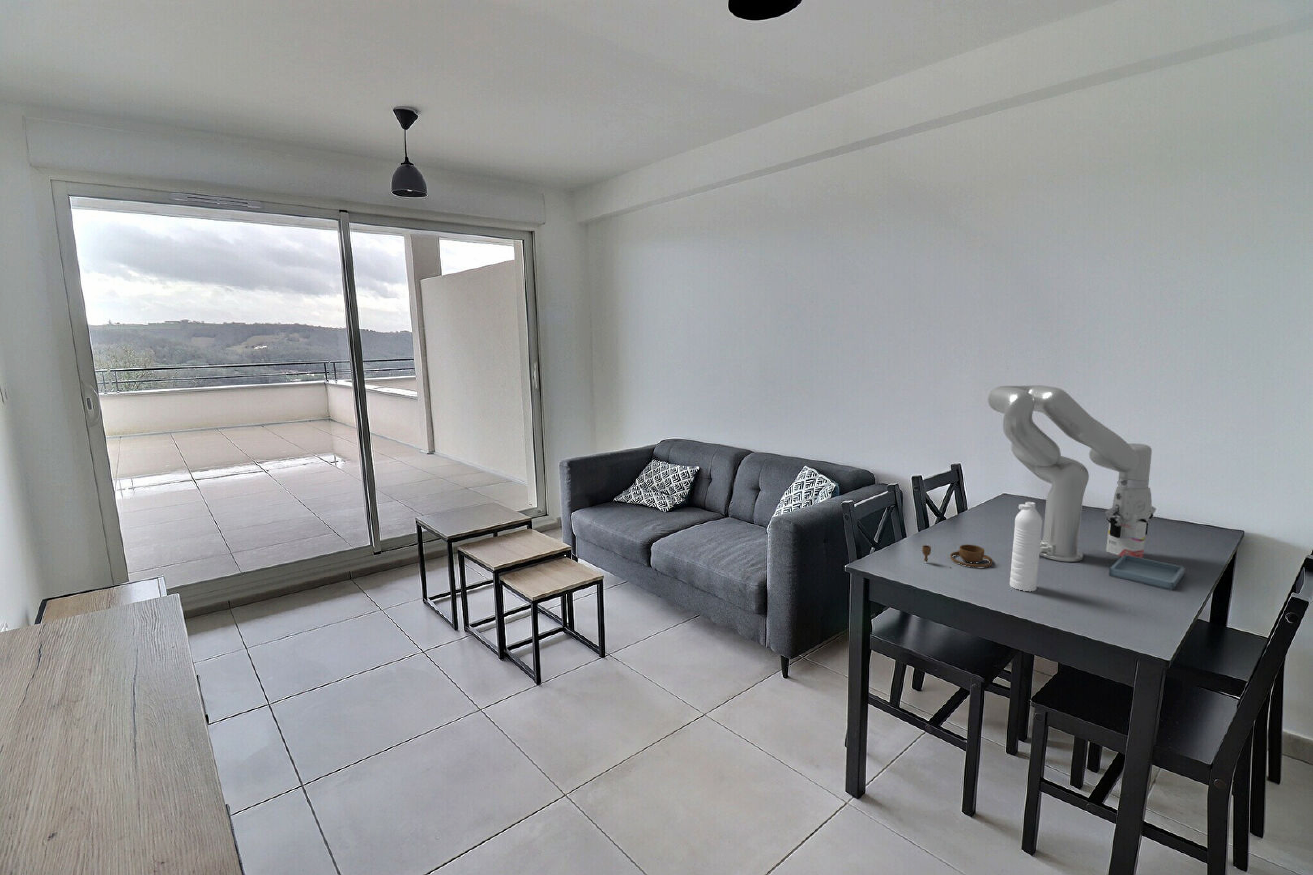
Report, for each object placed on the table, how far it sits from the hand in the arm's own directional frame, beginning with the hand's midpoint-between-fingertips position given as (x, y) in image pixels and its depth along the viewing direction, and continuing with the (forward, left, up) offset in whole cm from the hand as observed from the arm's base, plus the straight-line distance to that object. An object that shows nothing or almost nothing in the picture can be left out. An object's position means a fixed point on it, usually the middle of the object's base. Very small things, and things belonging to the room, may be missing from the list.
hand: (1128, 535), depth 194 cm
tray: (-9, -15, -7) cm, 18 cm away
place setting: (-54, +7, -7) cm, 55 cm away
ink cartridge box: (-1, 0, -7) cm, 7 cm away
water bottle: (-51, -16, -7) cm, 53 cm away
